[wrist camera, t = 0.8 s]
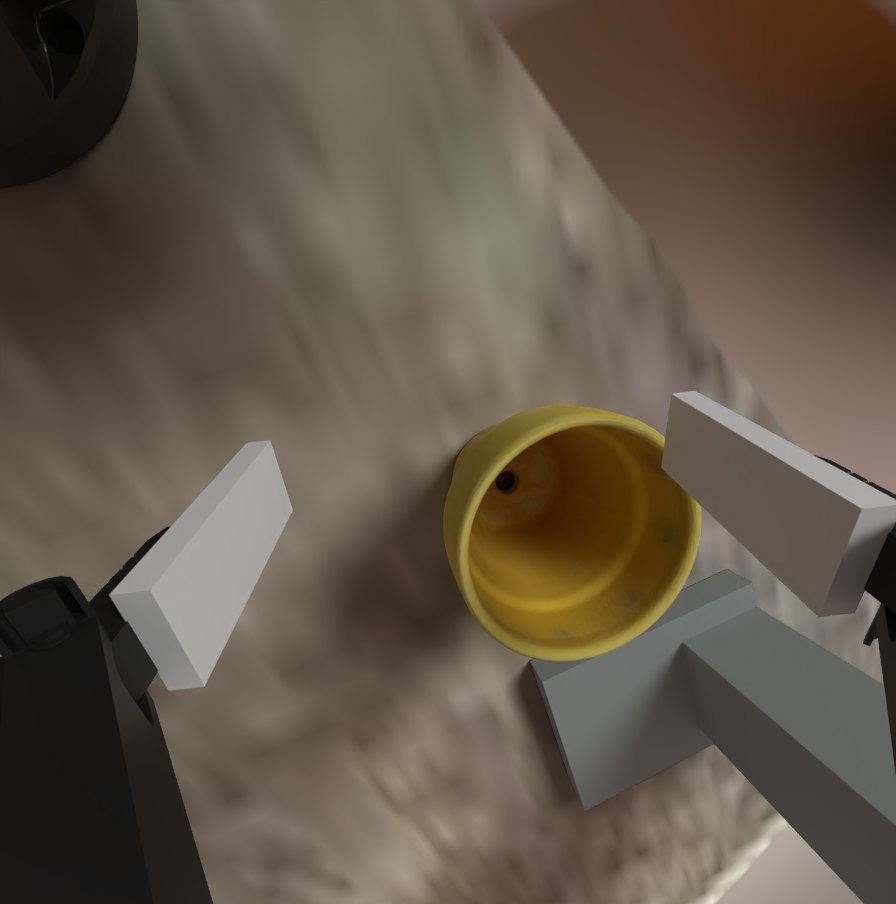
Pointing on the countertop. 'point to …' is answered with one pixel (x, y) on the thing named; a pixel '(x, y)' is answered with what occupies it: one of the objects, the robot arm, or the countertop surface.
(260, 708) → the countertop surface
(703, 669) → the press stand
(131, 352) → the countertop surface
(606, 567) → the plant pot
